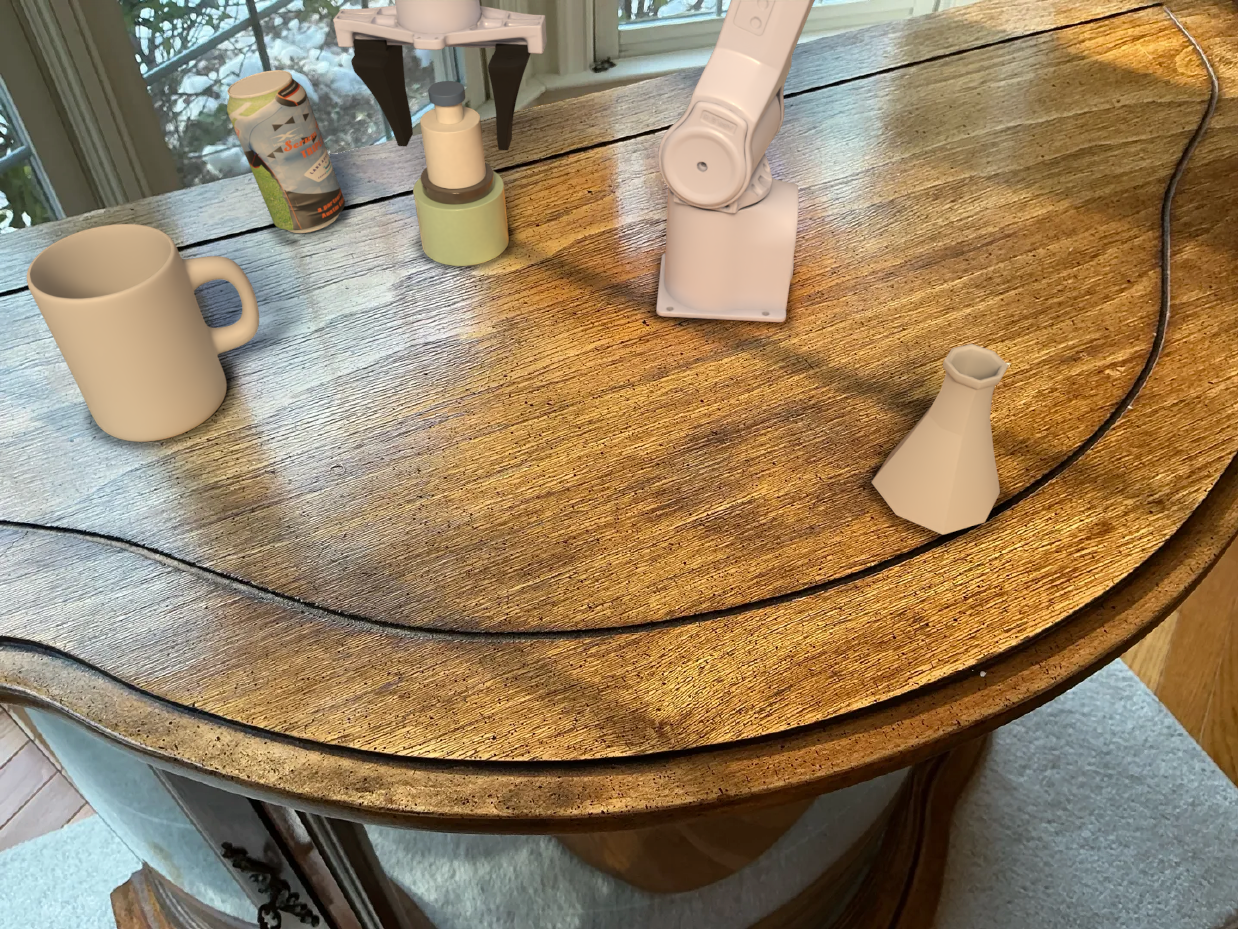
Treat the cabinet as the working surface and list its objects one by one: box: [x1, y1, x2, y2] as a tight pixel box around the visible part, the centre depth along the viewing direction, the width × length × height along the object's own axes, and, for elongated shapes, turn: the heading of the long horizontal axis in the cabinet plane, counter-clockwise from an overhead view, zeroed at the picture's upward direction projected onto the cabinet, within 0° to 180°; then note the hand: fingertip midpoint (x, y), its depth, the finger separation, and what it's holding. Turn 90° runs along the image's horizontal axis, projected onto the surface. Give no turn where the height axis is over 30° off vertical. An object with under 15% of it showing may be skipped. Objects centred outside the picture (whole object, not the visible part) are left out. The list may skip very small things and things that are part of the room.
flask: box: [871, 343, 1009, 535], centre depth 56 cm, size 7×7×10 cm
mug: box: [26, 223, 260, 443], centre depth 63 cm, size 12×8×11 cm
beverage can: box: [226, 69, 346, 234], centre depth 78 cm, size 6×7×12 cm
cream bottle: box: [419, 80, 486, 189], centre depth 73 cm, size 4×4×7 cm
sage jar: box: [412, 162, 510, 267], centre depth 78 cm, size 7×7×6 cm
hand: (455, 142), depth 74 cm, fingers open, 7 cm apart
